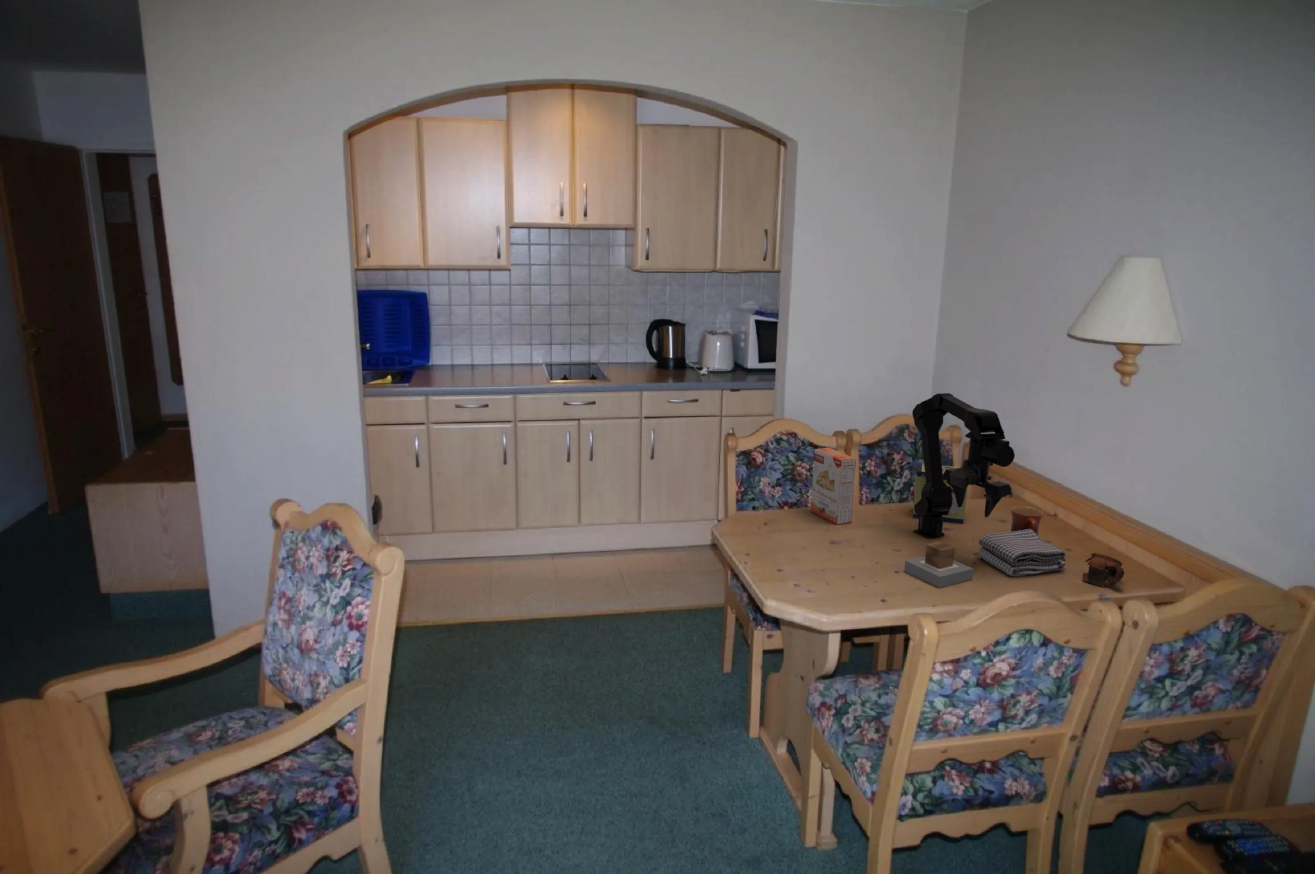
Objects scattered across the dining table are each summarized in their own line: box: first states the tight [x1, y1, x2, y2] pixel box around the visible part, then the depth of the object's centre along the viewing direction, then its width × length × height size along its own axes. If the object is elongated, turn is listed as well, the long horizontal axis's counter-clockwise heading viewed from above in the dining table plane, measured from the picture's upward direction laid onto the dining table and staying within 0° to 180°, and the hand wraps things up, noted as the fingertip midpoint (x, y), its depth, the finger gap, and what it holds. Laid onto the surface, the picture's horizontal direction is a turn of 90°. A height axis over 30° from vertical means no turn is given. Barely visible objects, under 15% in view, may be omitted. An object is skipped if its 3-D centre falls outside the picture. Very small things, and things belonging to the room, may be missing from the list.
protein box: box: [912, 462, 968, 525], centre depth 268 cm, size 10×16×16 cm
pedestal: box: [903, 555, 974, 589], centre depth 222 cm, size 12×12×3 cm
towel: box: [976, 529, 1066, 577], centre depth 230 cm, size 15×18×8 cm
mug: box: [1009, 505, 1044, 536], centre depth 244 cm, size 12×9×10 cm
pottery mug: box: [1082, 552, 1125, 588], centre depth 220 cm, size 12×10×8 cm
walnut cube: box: [924, 541, 956, 569], centre depth 221 cm, size 5×5×5 cm
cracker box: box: [810, 447, 857, 525], centre depth 264 cm, size 14×6×21 cm, turn 25°
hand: (972, 511), depth 233 cm, fingers open, 9 cm apart
